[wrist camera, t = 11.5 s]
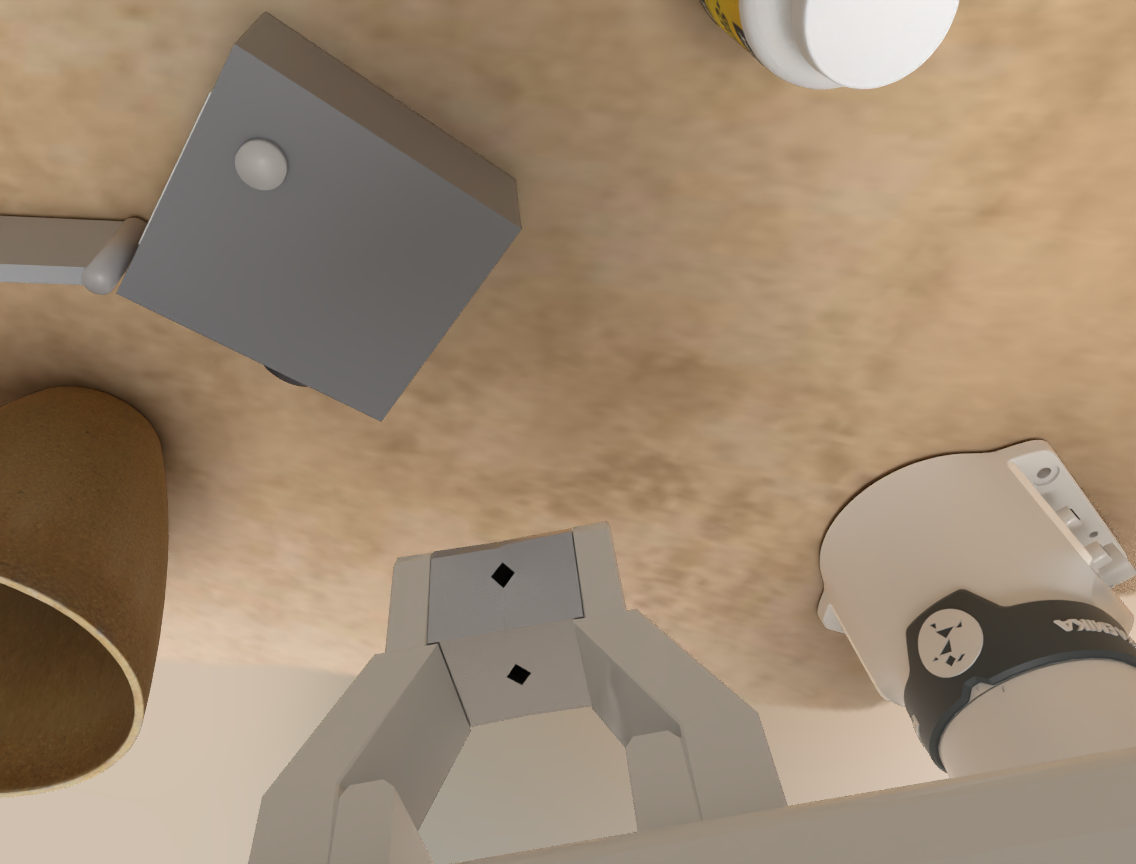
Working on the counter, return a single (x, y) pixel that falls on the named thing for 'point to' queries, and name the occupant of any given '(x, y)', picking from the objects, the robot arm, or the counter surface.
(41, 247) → the side door
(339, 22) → the counter surface
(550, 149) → the counter surface
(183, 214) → the box
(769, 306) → the counter surface
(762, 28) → the pill bottle
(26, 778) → the plant pot
